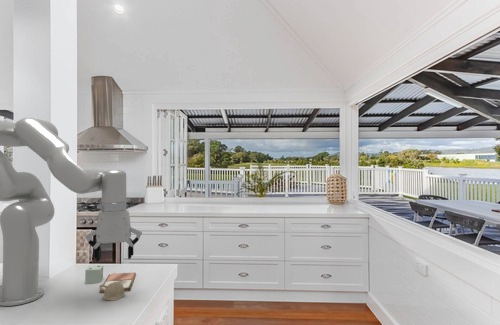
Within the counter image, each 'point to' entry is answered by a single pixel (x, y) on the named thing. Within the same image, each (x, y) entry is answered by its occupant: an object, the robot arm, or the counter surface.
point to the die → (94, 274)
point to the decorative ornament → (113, 291)
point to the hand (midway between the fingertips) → (114, 258)
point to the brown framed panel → (120, 280)
